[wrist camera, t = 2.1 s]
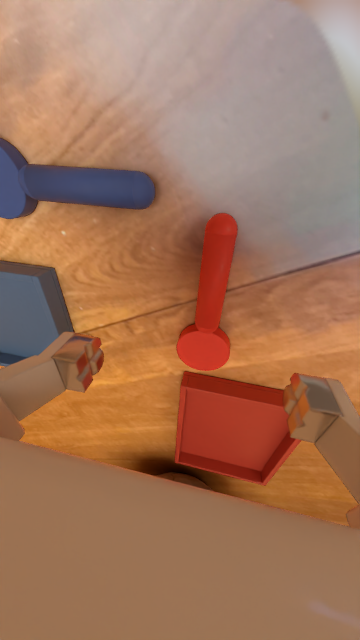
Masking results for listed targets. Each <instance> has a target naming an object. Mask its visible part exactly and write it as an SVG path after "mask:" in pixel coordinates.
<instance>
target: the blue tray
mask: <svg viewBox="0 0 360 640" xmlns="http://www.w3.org/2000/svg"><path fill="white" fill-rule="evenodd" d="M66 331H68V332H73V333H74V331H73V327H72V324H71V321H70V318H69V314H68V311H67V308H66V305H65V302H64V298H63V295H62V292H61V289H60V285H59V282H58V279H57V276H56V272H55V269H54V268H49V267H42V266H35V265H28V264H21V263H13V262H6V261H0V365H1V366H5V367H6V366H9V365H11V364H14V363H16V362H19V361H21V360H24V359H26V358H29V357H31V356H34V355H37V356H38V355H39V354H41V353H42V352H43V351H44V350H45V349H46V348H47V347H48V346H49V345H50V344H51V343H52V342H53V341H55V340H56V339H57V338H58V337H59V336H60V335H61V334H62V333H63V332H66Z"/></svg>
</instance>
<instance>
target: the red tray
mask: <svg viewBox="0 0 360 640" xmlns="http://www.w3.org/2000/svg"><path fill="white" fill-rule="evenodd" d="M283 392H284V391H283V390H278V389H273V388H267V387H262V386H257V385H252V384H247V383H242V382H237V381H232V380H227V379H221V378H216V377H211V376H206V375H201V374H196V373H191V372H186V371H185V372H184V375H183V379H182V383H181V389H180V401H179V413H178V426H177V438H176V450H175V463H179V464H182V465H186V466H190V467H194V468H198V469H202V470H206V471H209V472H213V473H217V474H221V475H225V476H229V477H233V478H237V479H241V480H244V481H248V482H252V483H256V484H260V485H264V486H265V485H266V484H267V483H268V482H269V480H270V479H271V478H272V477H273V475H274V474H275V473H276V472H277V470H278V469H279V468H280V467H281V465H282V464H283V463H284V462H285V460H286V459H287V458H288V457H289V455H290V454H291V453H292V452H293V450H294V449H295V448H296V447H297V445H298V444H299V443H300V442H301V440H299V439H295V438H291V437H290V434H289V429H288V425H287V421H286V420H287V418H288V417H289V415H288V414H287V413H286V412H285V410H284V408H283V401H282V397H283Z"/></svg>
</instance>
